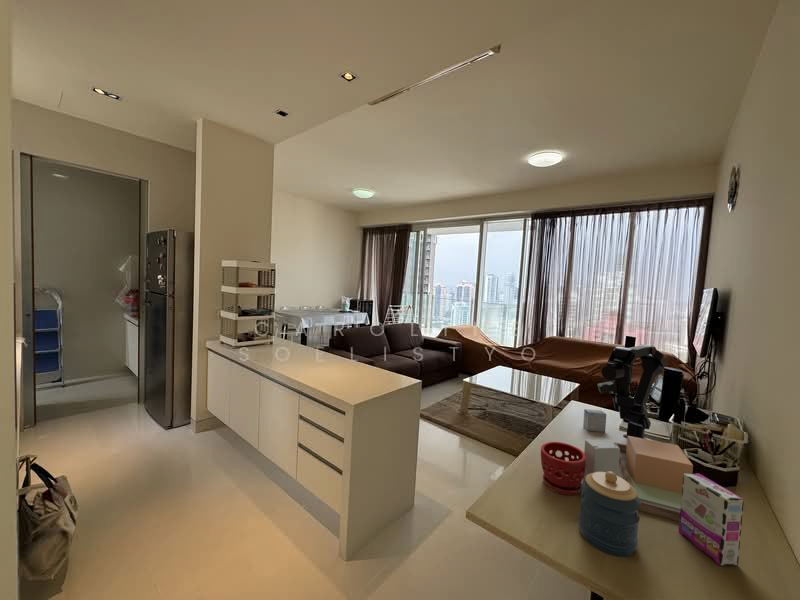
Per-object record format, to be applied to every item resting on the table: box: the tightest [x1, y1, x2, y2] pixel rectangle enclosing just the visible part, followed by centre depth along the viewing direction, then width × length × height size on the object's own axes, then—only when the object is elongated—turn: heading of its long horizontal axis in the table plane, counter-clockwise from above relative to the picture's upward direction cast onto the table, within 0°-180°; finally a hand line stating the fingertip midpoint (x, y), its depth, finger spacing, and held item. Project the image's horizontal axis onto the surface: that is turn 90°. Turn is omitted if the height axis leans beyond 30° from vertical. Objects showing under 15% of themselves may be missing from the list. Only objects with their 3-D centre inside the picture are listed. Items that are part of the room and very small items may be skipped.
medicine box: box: [582, 408, 607, 433], centre depth 152 cm, size 8×4×9 cm, turn 84°
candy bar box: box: [678, 472, 745, 567], centre depth 83 cm, size 11×5×16 cm, turn 5°
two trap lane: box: [613, 442, 682, 522], centre depth 112 cm, size 42×20×3 cm, turn 154°
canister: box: [578, 471, 641, 558], centre depth 85 cm, size 13×13×18 cm
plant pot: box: [540, 441, 586, 496], centre depth 107 cm, size 13×13×12 cm
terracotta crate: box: [625, 436, 694, 494], centre depth 115 cm, size 15×15×10 cm
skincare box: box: [582, 439, 620, 483], centre depth 108 cm, size 8×6×15 cm
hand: (619, 415), depth 137 cm, fingers open, 9 cm apart
